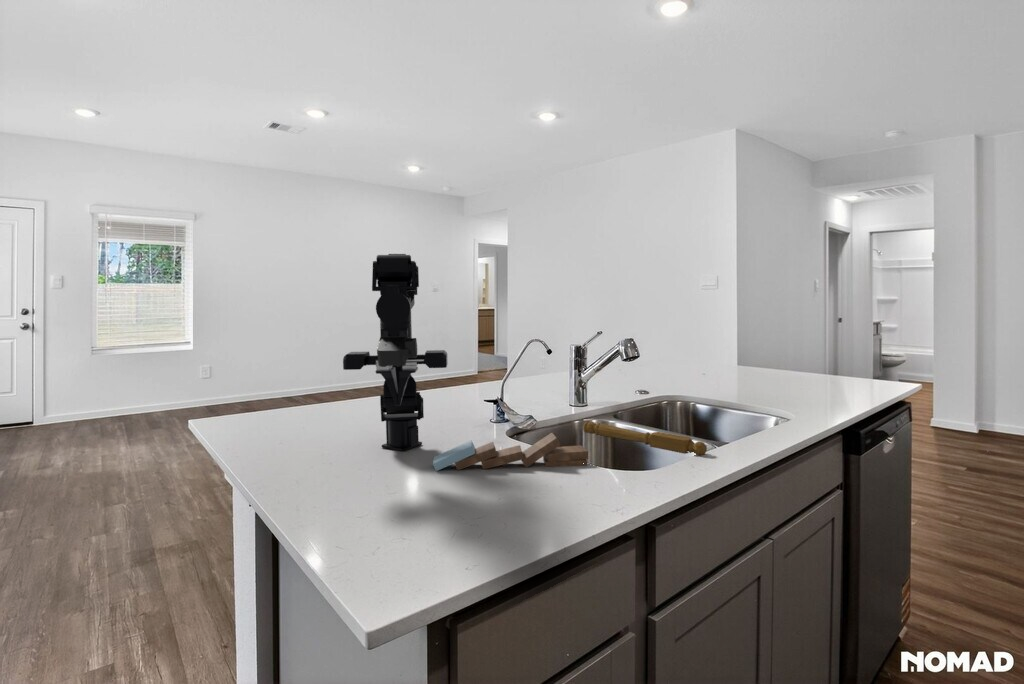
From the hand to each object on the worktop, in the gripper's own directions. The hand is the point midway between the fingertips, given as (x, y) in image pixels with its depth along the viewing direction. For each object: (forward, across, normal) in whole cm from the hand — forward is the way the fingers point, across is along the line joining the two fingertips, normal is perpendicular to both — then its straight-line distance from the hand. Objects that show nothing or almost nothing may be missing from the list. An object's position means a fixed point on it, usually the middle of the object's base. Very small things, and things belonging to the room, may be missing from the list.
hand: (398, 405), depth 106 cm
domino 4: (+12, +24, +1) cm, 26 cm away
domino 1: (+12, +7, +1) cm, 14 cm away
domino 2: (+12, +11, +1) cm, 16 cm away
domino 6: (+12, +28, +1) cm, 31 cm away
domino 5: (+11, +28, +1) cm, 30 cm away
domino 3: (+12, +16, +1) cm, 20 cm away
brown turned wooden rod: (+13, +51, +14) cm, 55 cm away
